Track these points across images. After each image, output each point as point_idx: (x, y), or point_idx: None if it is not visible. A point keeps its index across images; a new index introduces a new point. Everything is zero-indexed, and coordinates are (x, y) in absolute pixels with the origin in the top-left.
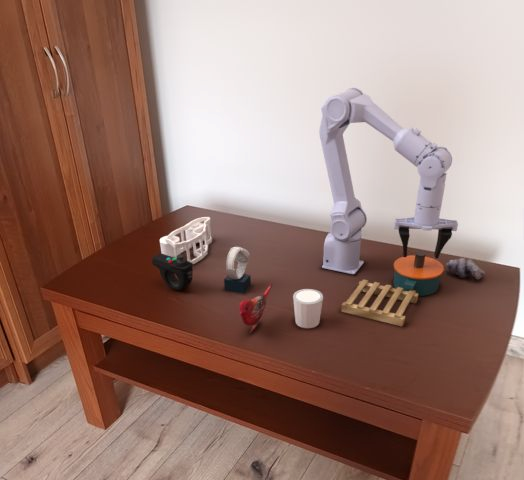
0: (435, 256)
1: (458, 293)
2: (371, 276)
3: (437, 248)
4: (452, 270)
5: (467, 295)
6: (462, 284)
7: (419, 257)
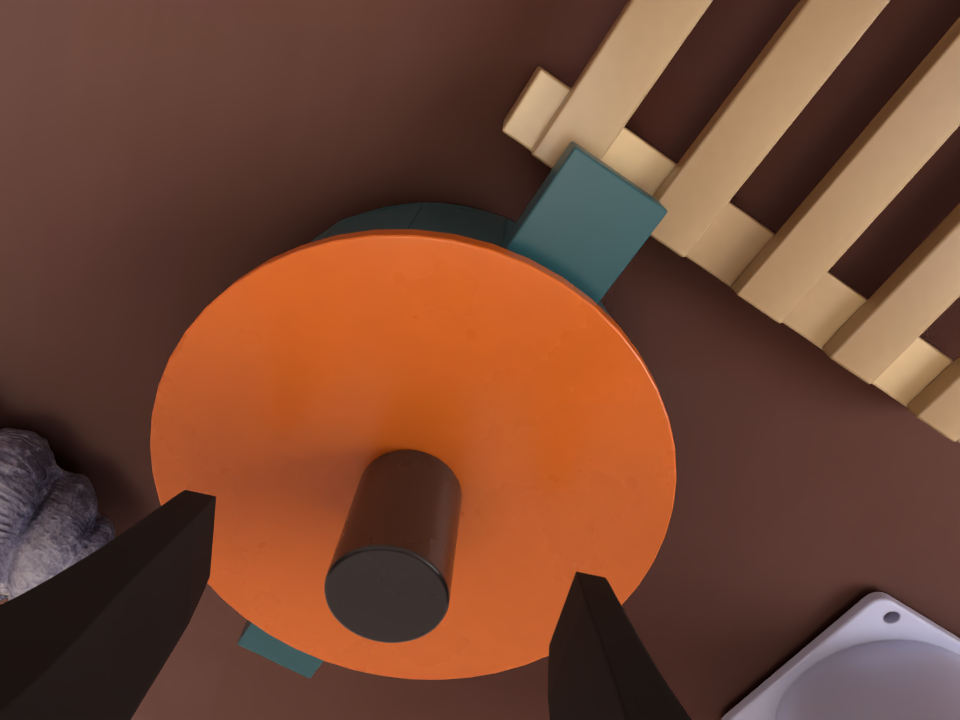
0: (207, 519)
1: (96, 200)
2: (741, 552)
3: (143, 606)
4: (84, 497)
5: (20, 154)
6: (41, 341)
7: (416, 539)
